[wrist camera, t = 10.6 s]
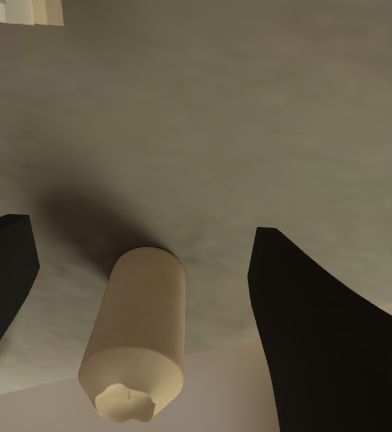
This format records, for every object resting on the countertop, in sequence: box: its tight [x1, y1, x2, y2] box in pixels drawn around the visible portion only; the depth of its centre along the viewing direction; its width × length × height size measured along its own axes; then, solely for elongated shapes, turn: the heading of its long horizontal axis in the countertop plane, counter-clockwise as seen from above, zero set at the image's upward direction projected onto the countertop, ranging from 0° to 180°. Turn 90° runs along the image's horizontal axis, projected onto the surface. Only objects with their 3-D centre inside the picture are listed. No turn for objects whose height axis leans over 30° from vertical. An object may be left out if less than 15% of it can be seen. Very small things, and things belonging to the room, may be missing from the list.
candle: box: [78, 247, 185, 423], centre depth 20 cm, size 6×6×10 cm
